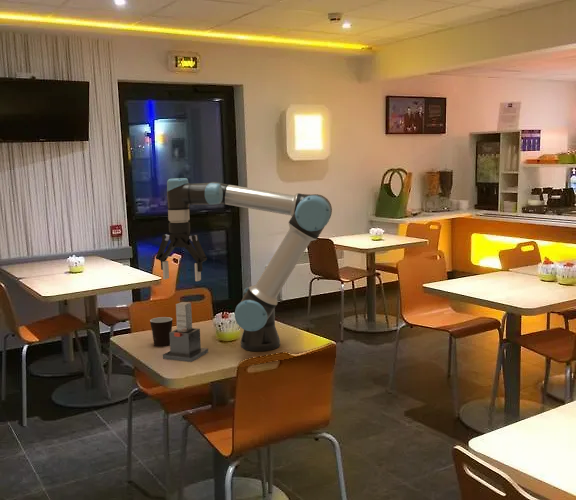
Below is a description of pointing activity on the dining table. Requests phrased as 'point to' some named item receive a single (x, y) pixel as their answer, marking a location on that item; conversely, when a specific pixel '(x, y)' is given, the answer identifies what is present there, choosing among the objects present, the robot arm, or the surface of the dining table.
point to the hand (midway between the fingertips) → (182, 279)
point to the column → (184, 317)
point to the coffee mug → (161, 331)
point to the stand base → (185, 346)
